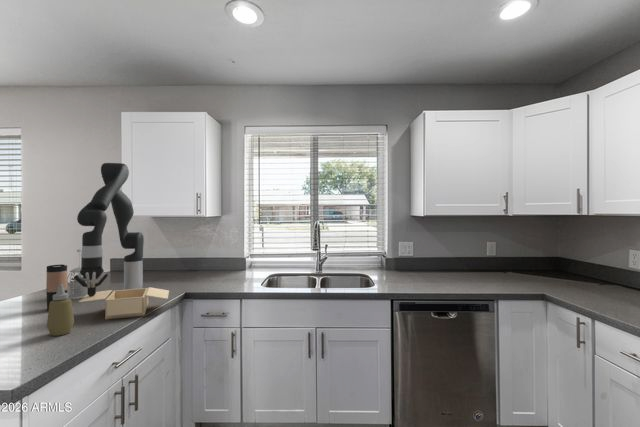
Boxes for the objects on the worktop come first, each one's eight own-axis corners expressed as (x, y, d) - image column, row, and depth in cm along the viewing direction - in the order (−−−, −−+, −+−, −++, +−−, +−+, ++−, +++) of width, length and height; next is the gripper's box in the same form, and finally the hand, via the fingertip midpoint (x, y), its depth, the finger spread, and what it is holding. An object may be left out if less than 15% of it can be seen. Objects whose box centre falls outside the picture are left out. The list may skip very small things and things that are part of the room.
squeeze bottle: (79, 329, 129) (79, 282, 129) (64, 337, 121) (63, 286, 121) (57, 329, 128) (57, 282, 128) (40, 337, 120) (40, 287, 120)
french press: (78, 299, 174) (78, 250, 174) (59, 298, 176) (59, 250, 176) (94, 294, 184) (94, 248, 184) (76, 293, 186) (76, 248, 186)
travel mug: (42, 312, 151) (42, 267, 151) (51, 307, 159) (51, 264, 159) (62, 310, 153) (62, 266, 153) (70, 306, 161) (70, 264, 161)
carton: (114, 306, 160) (114, 289, 160) (148, 303, 166) (148, 287, 166) (104, 321, 139) (104, 301, 139) (143, 317, 144) (143, 298, 144)
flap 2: (149, 287, 163) (169, 290, 166) (149, 288, 163) (168, 291, 166) (145, 295, 147) (167, 298, 150) (145, 295, 147) (167, 299, 150)
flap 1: (112, 290, 157) (89, 293, 154) (112, 289, 157) (89, 292, 154) (104, 299, 141) (78, 302, 138) (104, 298, 141) (78, 301, 138)
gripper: (111, 254, 153) (111, 293, 153) (76, 255, 148) (75, 295, 148) (108, 256, 146) (107, 296, 146) (71, 257, 141) (70, 299, 141)
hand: (91, 296), depth 147 cm, fingers closed
